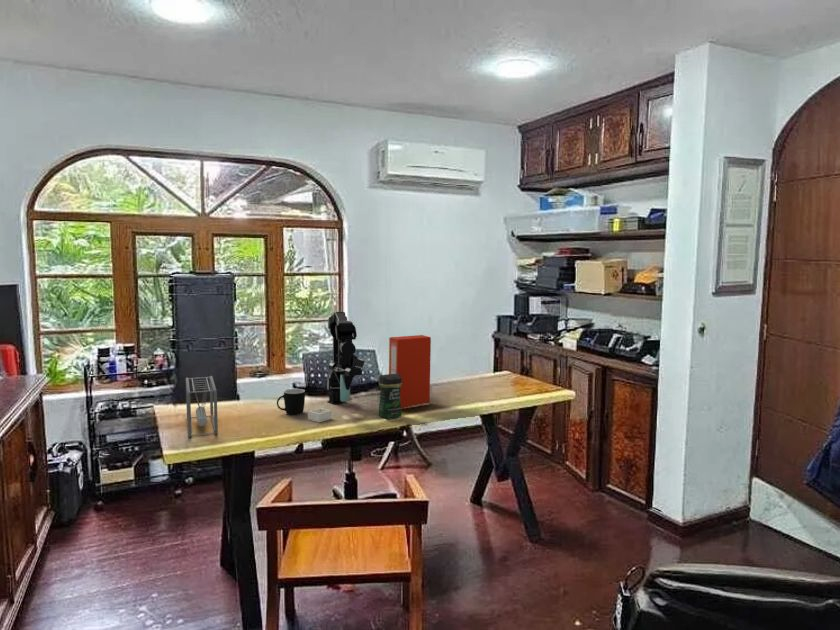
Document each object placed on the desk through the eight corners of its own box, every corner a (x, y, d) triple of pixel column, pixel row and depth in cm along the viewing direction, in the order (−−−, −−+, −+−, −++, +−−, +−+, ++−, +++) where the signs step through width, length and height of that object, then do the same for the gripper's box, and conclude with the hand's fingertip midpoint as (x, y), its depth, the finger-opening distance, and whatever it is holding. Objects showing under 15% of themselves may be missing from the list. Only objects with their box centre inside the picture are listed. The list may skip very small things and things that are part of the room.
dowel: (338, 400, 247) (338, 374, 245) (347, 398, 249) (347, 373, 248) (343, 402, 243) (343, 376, 242) (351, 400, 246) (351, 375, 245)
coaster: (353, 413, 255) (353, 412, 255) (370, 418, 249) (370, 416, 249) (336, 418, 247) (336, 417, 247) (353, 423, 241) (353, 421, 241)
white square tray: (320, 416, 250) (320, 407, 249) (331, 419, 245) (331, 410, 245) (308, 420, 244) (307, 411, 244) (319, 423, 240) (318, 413, 240)
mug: (303, 410, 259) (303, 388, 258) (306, 415, 251) (306, 392, 250) (275, 412, 255) (275, 389, 254) (278, 418, 247) (277, 394, 246)
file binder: (429, 405, 270) (430, 337, 267) (397, 410, 261) (397, 339, 258) (420, 401, 277) (421, 334, 273) (388, 406, 268) (389, 337, 264)
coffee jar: (384, 420, 245) (384, 377, 243) (375, 416, 252) (376, 373, 250) (404, 417, 250) (404, 374, 248) (395, 413, 257) (395, 371, 255)
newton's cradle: (186, 417, 246) (185, 376, 244) (213, 415, 250) (212, 374, 248) (188, 439, 219) (187, 392, 217) (218, 436, 223) (216, 390, 221)
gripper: (373, 353, 241) (373, 390, 243) (350, 347, 256) (351, 382, 258) (349, 356, 235) (349, 394, 236) (328, 349, 250) (328, 385, 251)
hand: (345, 388), depth 246 cm, fingers closed on dowel, 4 cm apart
